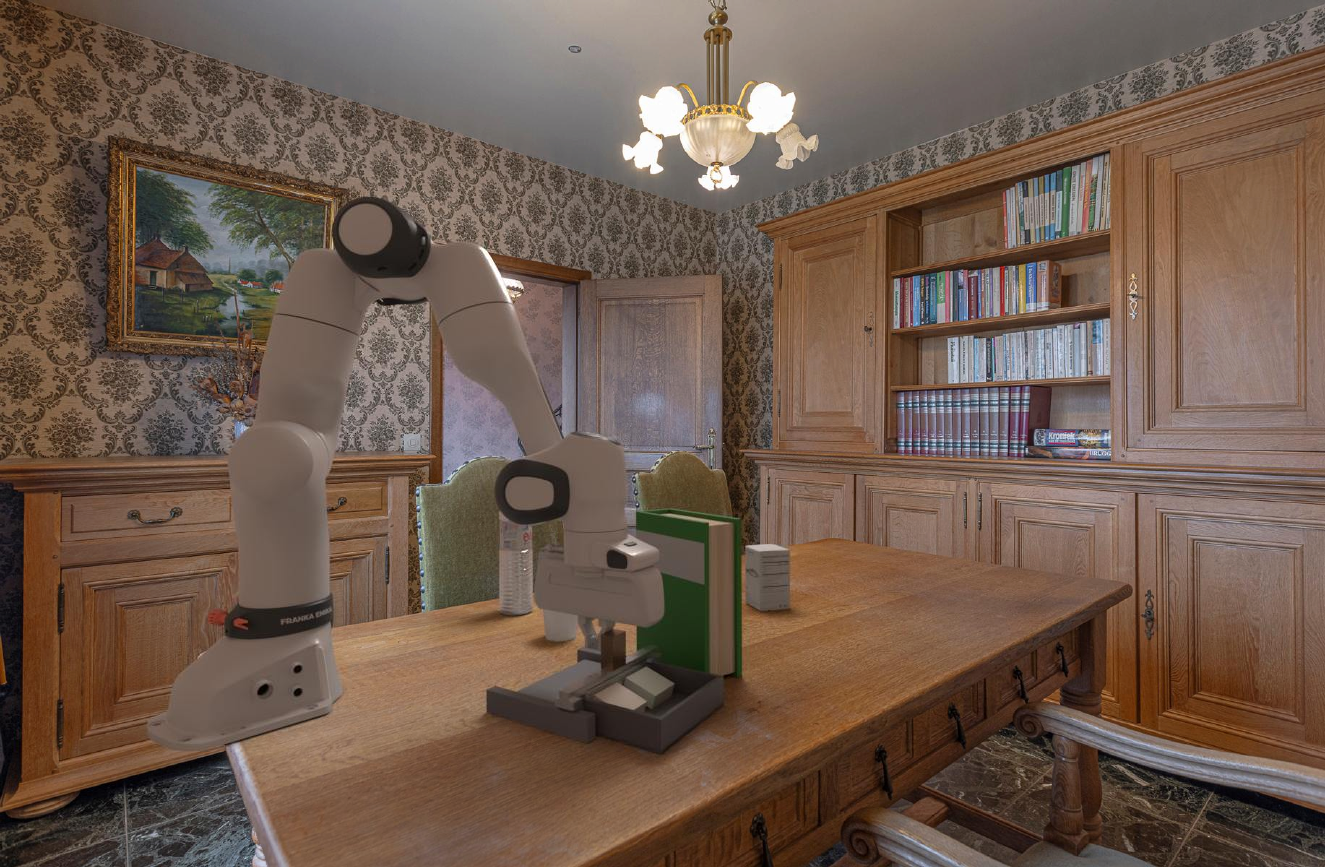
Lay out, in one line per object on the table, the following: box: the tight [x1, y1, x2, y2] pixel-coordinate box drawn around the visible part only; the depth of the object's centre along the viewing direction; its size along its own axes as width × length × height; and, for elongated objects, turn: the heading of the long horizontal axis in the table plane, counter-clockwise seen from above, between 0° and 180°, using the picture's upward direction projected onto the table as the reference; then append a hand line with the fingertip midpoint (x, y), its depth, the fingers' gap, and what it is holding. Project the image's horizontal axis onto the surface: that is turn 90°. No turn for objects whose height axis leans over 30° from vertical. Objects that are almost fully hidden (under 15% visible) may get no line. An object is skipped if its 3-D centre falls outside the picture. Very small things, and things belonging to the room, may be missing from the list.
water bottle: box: [498, 510, 534, 617], centre depth 137 cm, size 7×7×25 cm
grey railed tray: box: [485, 646, 651, 744], centre depth 92 cm, size 21×17×3 cm
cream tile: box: [593, 682, 647, 713], centre depth 85 cm, size 5×5×2 cm
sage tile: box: [624, 667, 675, 709], centre depth 91 cm, size 5×5×2 cm
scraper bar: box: [555, 628, 663, 711], centre depth 89 cm, size 21×3×8 cm, turn 148°
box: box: [583, 661, 725, 755], centre depth 86 cm, size 16×12×4 cm
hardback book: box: [635, 508, 743, 679], centre depth 105 cm, size 18×7×24 cm, turn 37°
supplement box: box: [744, 543, 791, 612], centre depth 141 cm, size 7×7×13 cm
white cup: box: [542, 609, 579, 642], centre depth 120 cm, size 7×7×7 cm
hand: (596, 648), depth 91 cm, fingers closed
